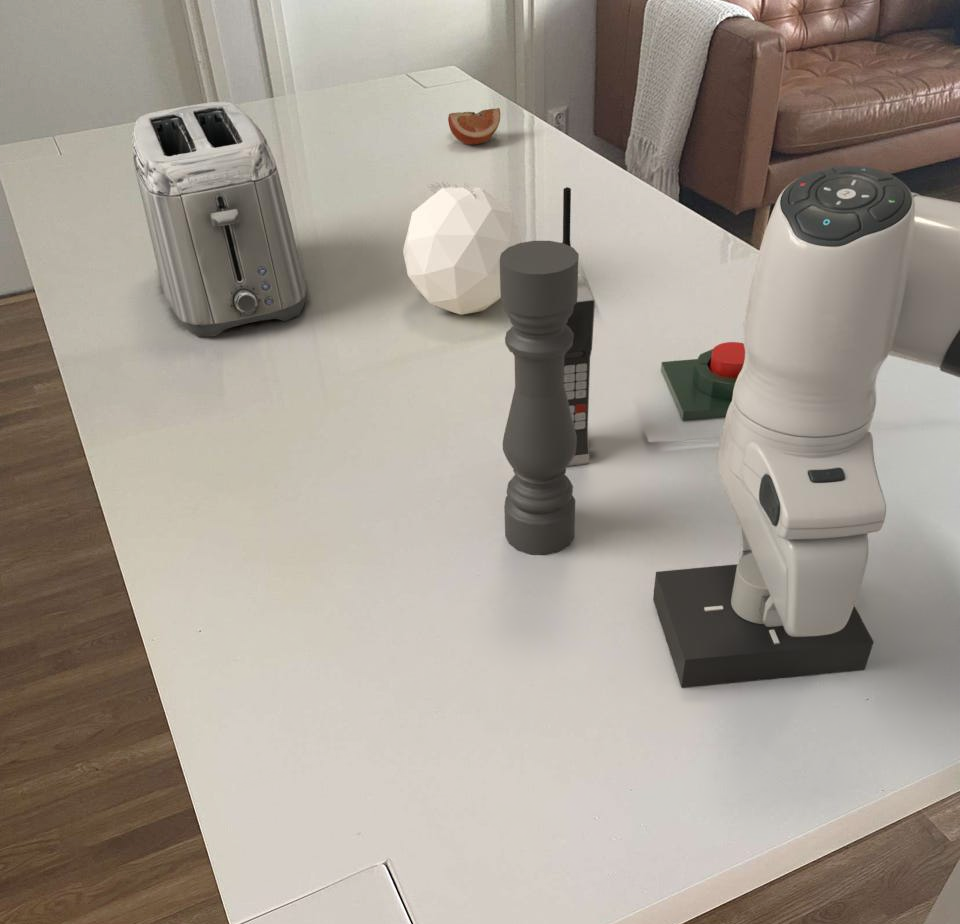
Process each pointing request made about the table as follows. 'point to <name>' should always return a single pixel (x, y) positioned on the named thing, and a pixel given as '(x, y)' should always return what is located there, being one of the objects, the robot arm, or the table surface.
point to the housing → (698, 388)
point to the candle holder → (539, 394)
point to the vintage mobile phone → (578, 352)
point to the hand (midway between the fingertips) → (762, 594)
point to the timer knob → (748, 590)
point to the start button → (728, 359)
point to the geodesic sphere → (459, 247)
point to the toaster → (217, 217)
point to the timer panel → (742, 635)
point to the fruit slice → (474, 125)
